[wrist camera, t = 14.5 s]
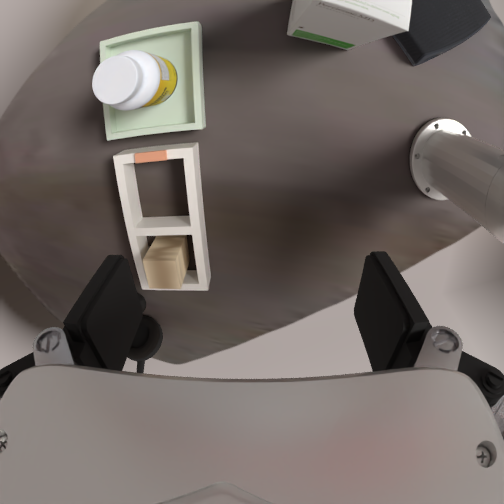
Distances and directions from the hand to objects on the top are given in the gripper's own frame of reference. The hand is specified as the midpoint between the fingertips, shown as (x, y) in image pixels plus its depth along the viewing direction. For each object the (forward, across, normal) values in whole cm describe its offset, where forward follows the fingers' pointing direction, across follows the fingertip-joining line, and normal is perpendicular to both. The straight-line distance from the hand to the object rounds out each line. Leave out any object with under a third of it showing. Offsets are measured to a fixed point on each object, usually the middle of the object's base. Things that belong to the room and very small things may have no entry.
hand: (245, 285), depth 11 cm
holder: (+28, +12, +10) cm, 32 cm away
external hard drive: (+29, -25, -23) cm, 45 cm away
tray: (+28, +12, -10) cm, 32 cm away
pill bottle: (+28, +12, -10) cm, 32 cm away
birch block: (+28, +12, +15) cm, 34 cm away
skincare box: (+28, -9, -17) cm, 34 cm away
